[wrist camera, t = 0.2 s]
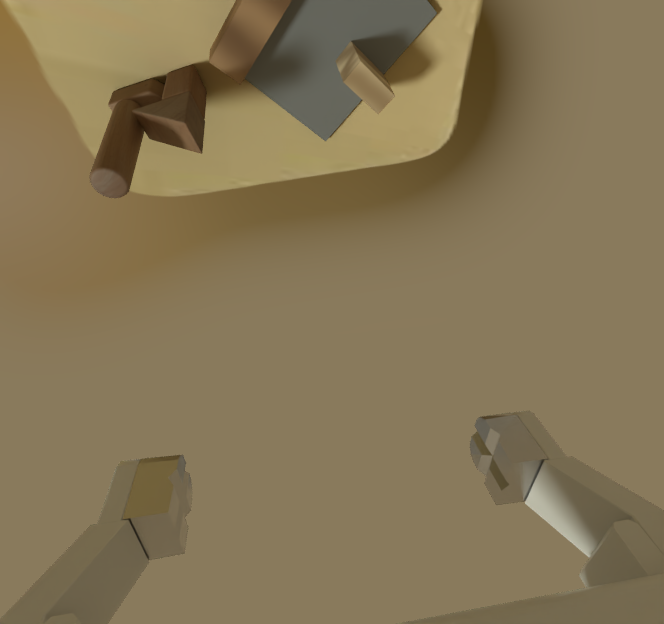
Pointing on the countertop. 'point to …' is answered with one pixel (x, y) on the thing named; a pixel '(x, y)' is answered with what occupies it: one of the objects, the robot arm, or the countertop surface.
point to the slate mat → (331, 53)
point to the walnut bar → (245, 35)
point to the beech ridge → (364, 78)
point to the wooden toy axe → (149, 126)
